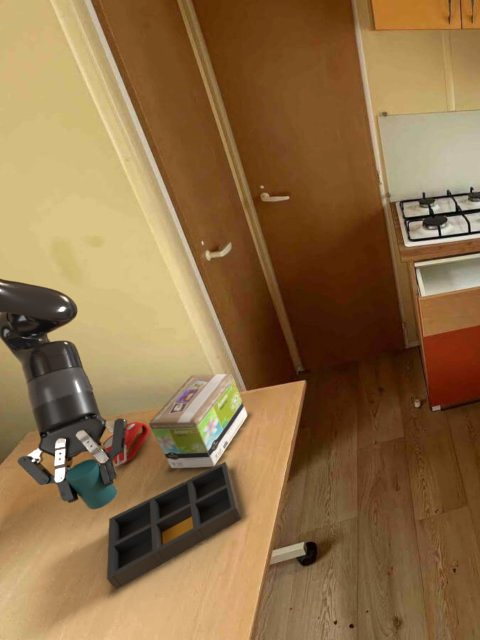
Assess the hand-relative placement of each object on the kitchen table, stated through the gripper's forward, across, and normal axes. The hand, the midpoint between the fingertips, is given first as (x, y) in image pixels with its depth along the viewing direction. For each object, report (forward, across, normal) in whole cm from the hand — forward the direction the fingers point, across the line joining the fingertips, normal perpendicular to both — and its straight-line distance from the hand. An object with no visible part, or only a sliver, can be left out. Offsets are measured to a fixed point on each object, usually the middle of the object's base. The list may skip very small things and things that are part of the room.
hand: (92, 492), depth 72 cm
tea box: (-1, +15, +27) cm, 31 cm away
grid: (+12, +7, +13) cm, 19 cm away
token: (+1, 0, +4) cm, 5 cm away
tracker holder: (-8, -2, +34) cm, 35 cm away
